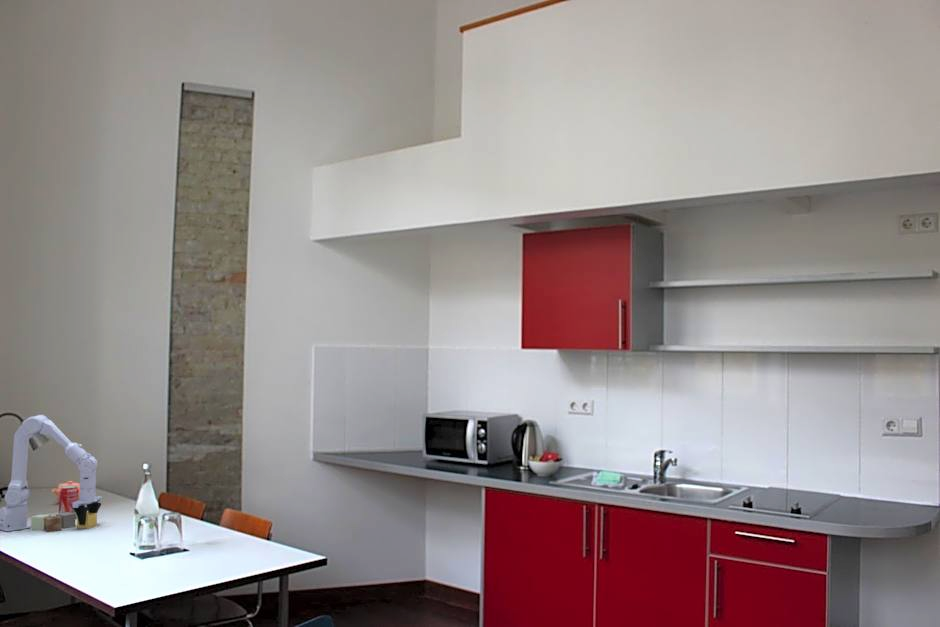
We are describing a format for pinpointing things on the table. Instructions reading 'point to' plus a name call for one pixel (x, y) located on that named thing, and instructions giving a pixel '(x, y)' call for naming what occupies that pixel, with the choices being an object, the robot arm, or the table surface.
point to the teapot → (66, 485)
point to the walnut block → (53, 523)
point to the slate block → (67, 519)
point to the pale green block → (38, 522)
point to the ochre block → (89, 521)
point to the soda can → (67, 498)
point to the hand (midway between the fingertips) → (87, 523)
